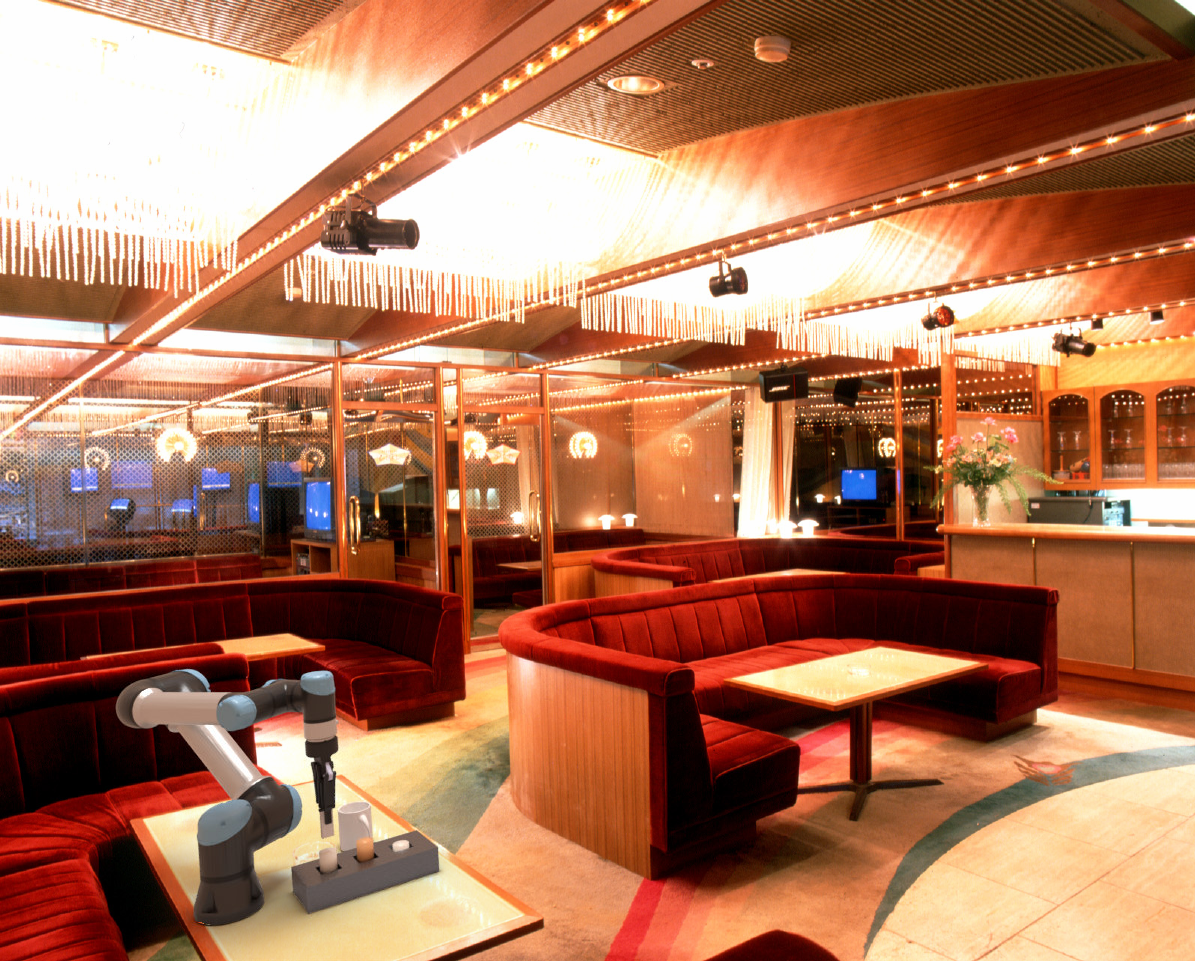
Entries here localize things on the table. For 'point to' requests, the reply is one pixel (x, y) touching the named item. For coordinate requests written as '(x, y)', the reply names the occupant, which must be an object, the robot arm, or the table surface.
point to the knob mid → (365, 849)
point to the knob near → (328, 860)
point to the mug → (354, 823)
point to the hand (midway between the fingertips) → (327, 835)
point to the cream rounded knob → (400, 845)
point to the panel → (364, 872)
